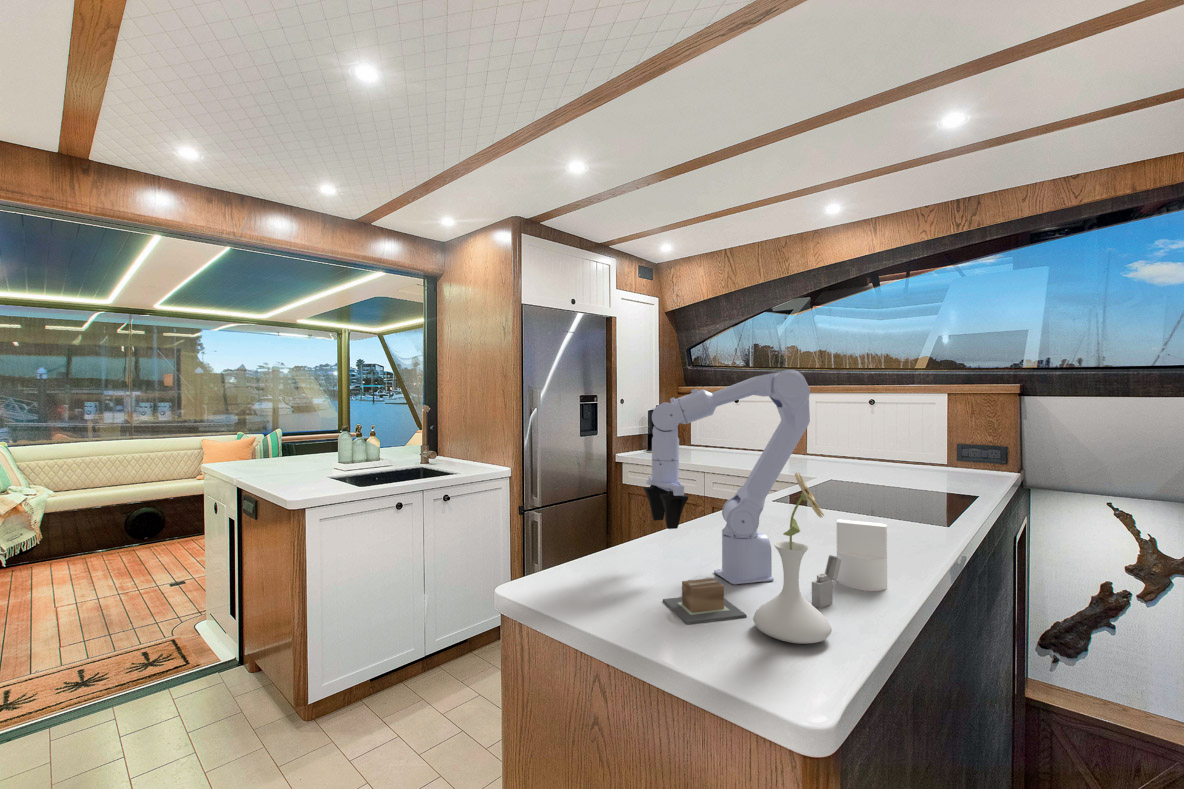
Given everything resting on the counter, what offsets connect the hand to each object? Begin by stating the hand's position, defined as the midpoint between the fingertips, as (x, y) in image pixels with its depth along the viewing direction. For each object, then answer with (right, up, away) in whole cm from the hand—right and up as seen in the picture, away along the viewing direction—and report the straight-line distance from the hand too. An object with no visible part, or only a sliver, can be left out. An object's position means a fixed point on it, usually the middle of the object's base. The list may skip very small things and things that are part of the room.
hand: (665, 524), depth 109 cm
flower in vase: (+16, -10, -28) cm, 34 cm away
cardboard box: (+4, -10, -19) cm, 22 cm away
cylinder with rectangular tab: (+39, -11, -5) cm, 41 cm away
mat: (+4, -10, -19) cm, 22 cm away
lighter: (+27, -10, -16) cm, 33 cm away
